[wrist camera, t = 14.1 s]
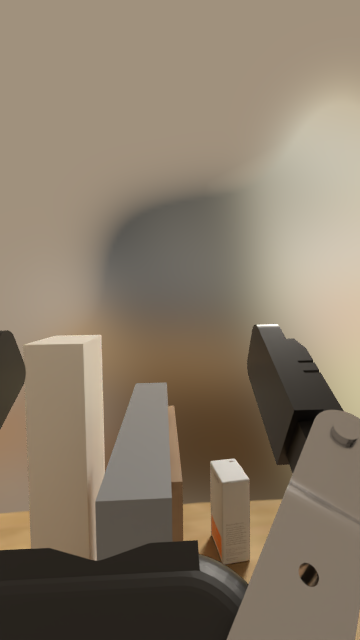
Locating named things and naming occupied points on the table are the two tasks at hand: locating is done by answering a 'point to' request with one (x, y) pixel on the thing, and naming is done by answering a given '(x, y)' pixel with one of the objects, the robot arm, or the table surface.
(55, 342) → the tall stand
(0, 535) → the table surface
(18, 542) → the table surface
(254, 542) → the table surface
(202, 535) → the table surface
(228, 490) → the skincare box
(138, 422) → the grey block
